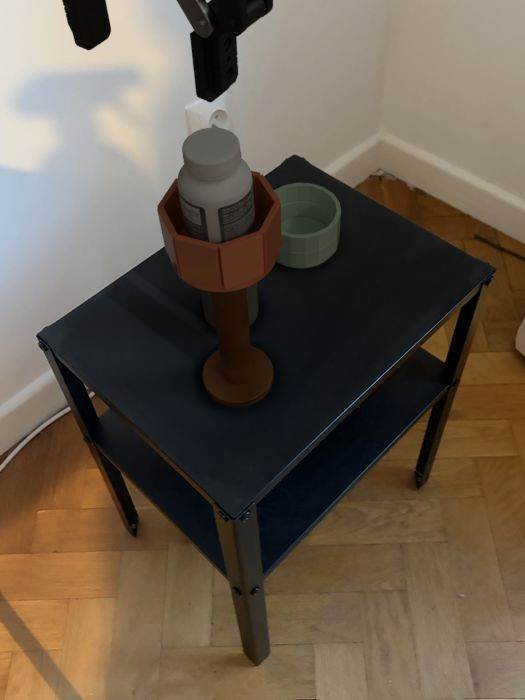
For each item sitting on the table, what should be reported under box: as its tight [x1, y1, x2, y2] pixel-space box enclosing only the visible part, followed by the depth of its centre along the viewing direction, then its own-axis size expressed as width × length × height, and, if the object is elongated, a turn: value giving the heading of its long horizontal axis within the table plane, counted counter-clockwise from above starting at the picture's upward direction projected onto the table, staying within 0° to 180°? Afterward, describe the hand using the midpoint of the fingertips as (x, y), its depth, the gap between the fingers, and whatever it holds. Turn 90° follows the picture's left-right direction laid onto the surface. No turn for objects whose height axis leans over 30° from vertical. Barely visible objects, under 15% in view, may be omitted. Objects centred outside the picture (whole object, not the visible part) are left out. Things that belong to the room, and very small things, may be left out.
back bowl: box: [273, 182, 342, 269], centre depth 81 cm, size 9×9×5 cm
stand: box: [202, 288, 274, 408], centre depth 65 cm, size 7×7×18 cm
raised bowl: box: [156, 170, 282, 292], centre depth 56 cm, size 9×9×5 cm
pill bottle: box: [177, 127, 256, 245], centre depth 53 cm, size 5×5×10 cm
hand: (153, 67), depth 39 cm, fingers open, 8 cm apart
